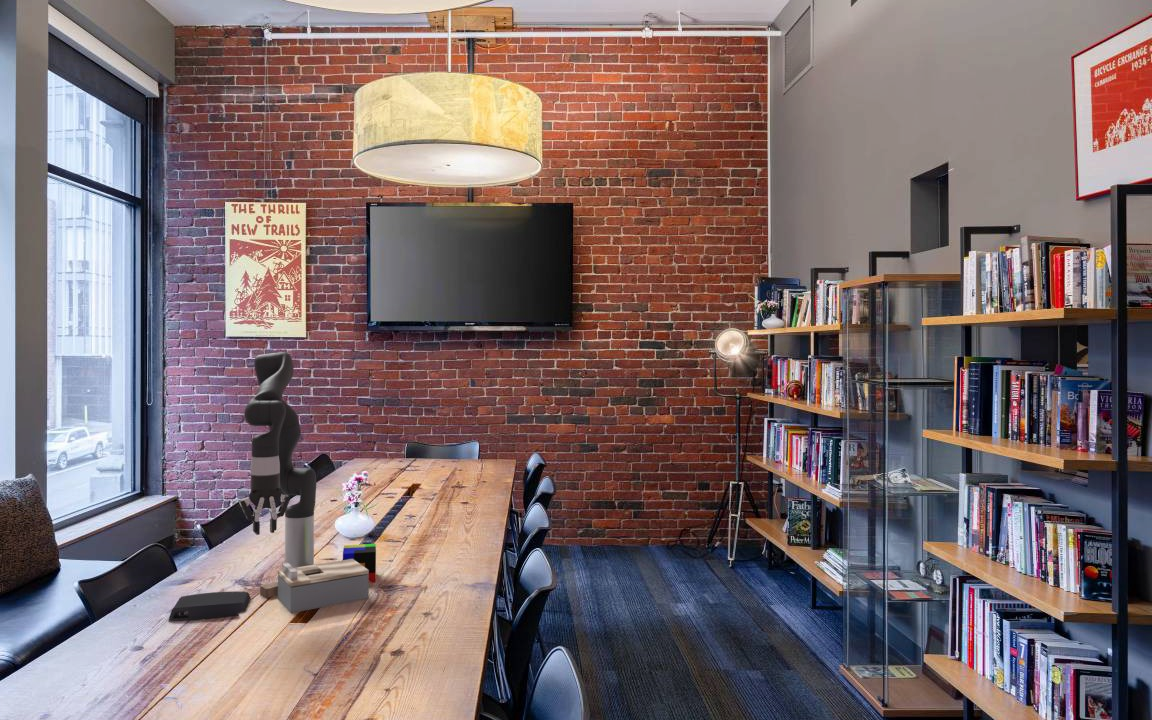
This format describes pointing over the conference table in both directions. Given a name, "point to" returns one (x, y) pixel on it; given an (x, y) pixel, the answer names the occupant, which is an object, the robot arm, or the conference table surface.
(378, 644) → the conference table surface
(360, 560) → the puzzle toy
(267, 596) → the brown block
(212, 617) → the external hard drive
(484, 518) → the conference table surface
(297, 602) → the toolbox
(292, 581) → the lid
